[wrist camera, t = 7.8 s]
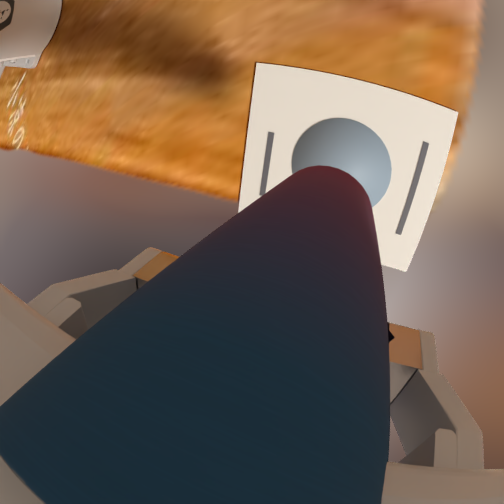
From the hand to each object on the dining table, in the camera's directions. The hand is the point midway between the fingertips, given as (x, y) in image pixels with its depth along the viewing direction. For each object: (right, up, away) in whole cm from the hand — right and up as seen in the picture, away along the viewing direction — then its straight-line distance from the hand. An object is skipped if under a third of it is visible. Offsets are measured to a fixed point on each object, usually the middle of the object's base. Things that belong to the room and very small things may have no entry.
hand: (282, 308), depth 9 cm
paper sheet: (+8, +10, +20) cm, 24 cm away
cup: (+3, +4, +6) cm, 8 cm away
